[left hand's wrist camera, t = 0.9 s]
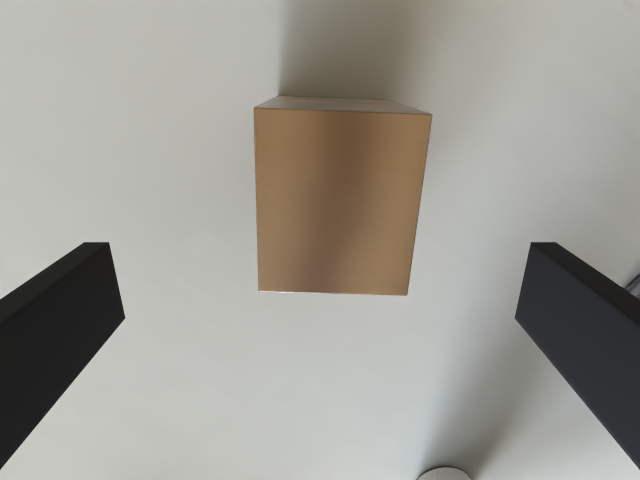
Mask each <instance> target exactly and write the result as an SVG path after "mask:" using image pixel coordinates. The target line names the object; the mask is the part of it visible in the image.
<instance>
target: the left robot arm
mask: <svg viewBox="0 0 640 480" xmlns="http://www.w3.org/2000/svg"><path fill="white" fill-rule="evenodd" d="M124 319H125V315H124V310H123V305H122V301H121V296H120V291H119V287H118V282H117V277H116V273H115V268H114V264H113V259H112V254H111V250H110V245H109V242H84V243H83V244H81V245H80V246H78V247H77V248H75V249H74V250H72V251H71V252H69V253H68V254H66V255H65V256H64V257H62V258H61V259H59V260H58V261H56V262H55V263H53V264H52V265H50V266H49V267H47V268H46V269H44V270H43V271H41V272H40V273H39V274H37V275H36V276H34V277H33V278H31V279H30V280H28V281H27V282H25V283H24V284H22V285H21V286H19V287H18V288H16V289H15V290H14V291H12V292H11V293H9V294H8V295H6V296H5V297H3V298H2V299H0V469H1V468H2V467H3V466H4V464H5V463H6V462H7V461H8V460H9V458H10V457H11V456H12V455H13V454H14V452H15V451H16V450H17V449H18V448H19V446H20V445H21V444H22V443H23V441H24V440H25V439H26V438H27V437H28V435H29V434H30V433H31V432H32V431H33V429H34V428H35V427H36V426H37V424H38V423H39V422H40V421H41V420H42V418H43V417H44V416H45V415H46V414H47V412H48V411H49V410H50V409H51V408H52V406H53V405H54V404H55V403H56V401H57V400H58V399H59V398H60V397H61V395H62V394H63V393H64V392H65V391H66V389H67V388H68V387H69V386H70V384H71V383H72V382H73V381H74V380H75V378H76V377H77V376H78V375H79V374H80V372H81V371H82V370H83V369H84V368H85V366H86V365H87V364H88V363H89V361H90V360H91V359H92V358H93V357H94V355H95V354H96V353H97V352H98V351H99V349H100V348H101V347H102V346H103V344H104V343H105V342H106V341H107V340H108V338H109V337H110V336H111V335H112V334H113V332H114V331H115V330H116V329H117V328H118V326H119V325H120V324H121V323H122V321H123V320H124ZM515 319H516V320H517V321H518V323H519V324H520V325H521V326H522V328H523V329H524V330H525V331H526V332H527V334H528V335H529V336H530V337H531V338H532V340H533V341H534V342H535V343H536V344H537V346H538V347H539V348H540V349H541V351H542V352H543V353H544V354H545V355H546V357H547V358H548V359H549V360H550V361H551V363H552V364H553V365H554V366H555V368H556V369H557V370H558V371H559V372H560V374H561V375H562V376H563V377H564V378H565V380H566V381H567V382H568V383H569V384H570V386H571V387H572V388H573V389H574V391H575V392H576V393H577V394H578V395H579V397H580V398H581V399H582V400H583V401H584V403H585V404H586V405H587V406H588V408H589V409H590V410H591V411H592V412H593V414H594V415H595V416H596V417H597V418H598V420H599V421H600V422H601V423H602V424H603V426H604V427H605V428H606V429H607V431H608V432H609V433H610V434H611V435H612V437H613V438H614V439H615V440H616V441H617V443H618V444H619V445H620V446H621V448H622V449H623V450H624V451H625V452H626V454H627V455H628V456H629V457H630V458H631V460H632V461H633V462H634V463H635V464H636V466H637V467H638V468H639V469H640V277H638V278H637V279H636V280H635V281H634V282H633V283H632V284H630V285H629V286H628V287H627V288H626V290H625V289H624V288H622V287H621V286H619V285H618V284H616V283H615V282H613V281H612V280H610V279H609V278H607V277H606V276H604V275H603V274H601V273H600V272H599V271H597V270H596V269H594V268H593V267H591V266H590V265H588V264H587V263H585V262H584V261H582V260H581V259H579V258H578V257H576V256H575V255H574V254H572V253H571V252H569V251H568V250H566V249H565V248H563V247H562V246H560V245H559V244H557V243H556V242H531V245H530V250H529V254H528V259H527V264H526V268H525V273H524V277H523V282H522V287H521V291H520V296H519V301H518V305H517V310H516V315H515Z"/></svg>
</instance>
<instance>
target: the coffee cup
mask: <svg viewBox="0 0 640 480" xmlns="http://www.w3.org/2000/svg"><path fill="white" fill-rule="evenodd" d="M418 480H471V479H470V478H469V476H468V475H467V474H466V473H465V472H463V471H461V470H459V469H456V468H449V467H444V468H437V469H433V470H430V471H428V472H426V473H424V474H423V475H422V476H420V477H419V478H418Z"/></svg>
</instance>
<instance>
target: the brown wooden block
mask: <svg viewBox="0 0 640 480" xmlns="http://www.w3.org/2000/svg"><path fill="white" fill-rule="evenodd" d="M431 120H432V114H430V113H427V112H423V111H420V110H417V109H414V108H411V107H408V106H405V105H401V104H398V103H395V102H392V101H389V100H375V99H349V98H324V97H298V96H277V97H275V98H273V99H271V100H269V101H267V102H265V103H263V104H261V105H259V106H257V107H255V108H254V138H255V177H256V215H257V254H258V290H259V292H288V293H325V294H363V295H400V296H406V295H407V293H408V286H409V278H410V271H411V264H412V257H413V250H414V242H415V235H416V228H417V221H418V214H419V207H420V199H421V192H422V185H423V178H424V171H425V164H426V156H427V149H428V142H429V135H430V128H431Z"/></svg>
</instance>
